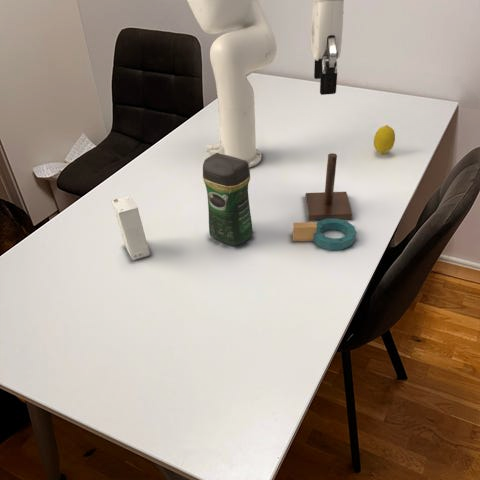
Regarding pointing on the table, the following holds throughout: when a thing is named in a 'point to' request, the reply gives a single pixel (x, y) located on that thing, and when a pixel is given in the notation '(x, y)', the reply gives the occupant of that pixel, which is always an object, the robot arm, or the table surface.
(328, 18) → the robot arm
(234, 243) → the coffee jar
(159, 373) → the table surface
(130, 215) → the cosmetic box
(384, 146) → the lemon
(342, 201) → the peg stand
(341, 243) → the ring
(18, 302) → the table surface
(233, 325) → the table surface
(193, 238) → the table surface
